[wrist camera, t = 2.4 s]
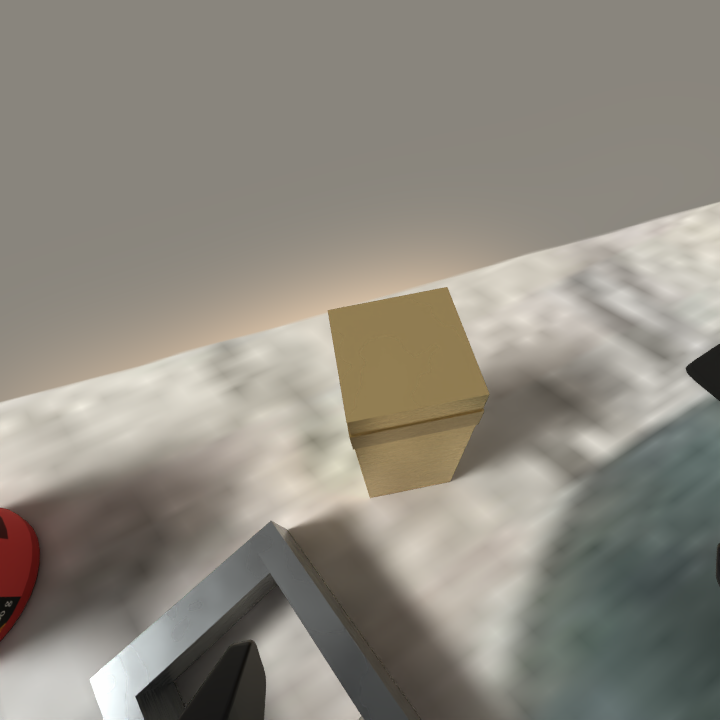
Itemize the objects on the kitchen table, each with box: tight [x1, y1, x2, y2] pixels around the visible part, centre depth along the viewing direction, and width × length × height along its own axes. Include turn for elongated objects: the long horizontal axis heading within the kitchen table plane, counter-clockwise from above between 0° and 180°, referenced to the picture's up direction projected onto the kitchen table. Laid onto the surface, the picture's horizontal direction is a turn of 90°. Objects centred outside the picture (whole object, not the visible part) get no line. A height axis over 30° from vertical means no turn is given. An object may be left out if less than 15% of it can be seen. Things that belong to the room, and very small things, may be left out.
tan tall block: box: [328, 287, 490, 498], centre depth 18 cm, size 5×5×11 cm
